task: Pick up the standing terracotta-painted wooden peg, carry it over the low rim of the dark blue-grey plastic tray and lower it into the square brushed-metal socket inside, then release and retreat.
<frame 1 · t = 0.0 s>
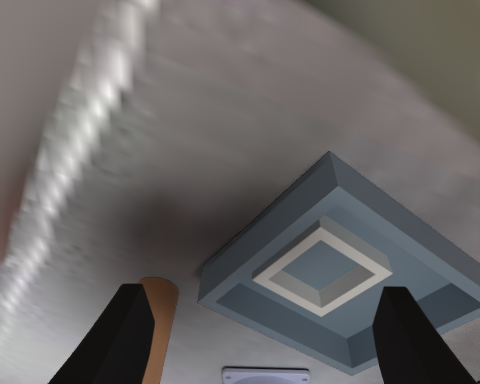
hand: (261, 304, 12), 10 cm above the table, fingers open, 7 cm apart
tray box: (338, 265, 25), on the table
peg: (157, 290, 28), on the table
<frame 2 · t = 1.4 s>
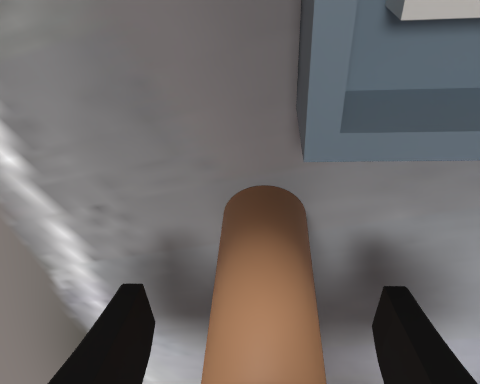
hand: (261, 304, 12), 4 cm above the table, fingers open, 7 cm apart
peg: (264, 218, 15), on the table
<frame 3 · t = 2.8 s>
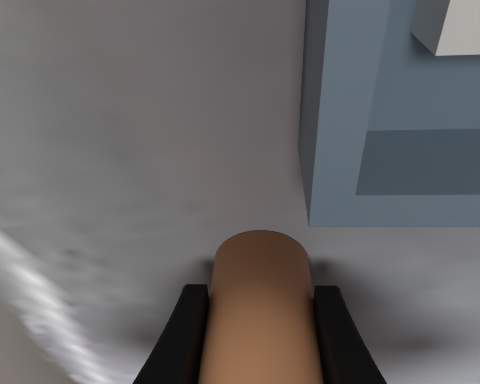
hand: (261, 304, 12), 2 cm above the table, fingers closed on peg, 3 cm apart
peg: (261, 264, 13), on the table, touching gripper
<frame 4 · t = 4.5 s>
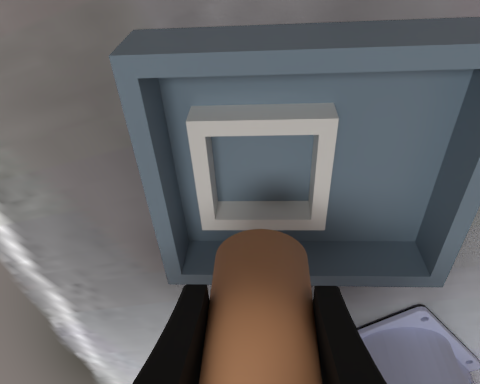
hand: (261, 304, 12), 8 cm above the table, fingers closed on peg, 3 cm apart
tray box: (304, 155, 18), on the table
peg: (261, 261, 13), point 7 cm above the table, touching gripper
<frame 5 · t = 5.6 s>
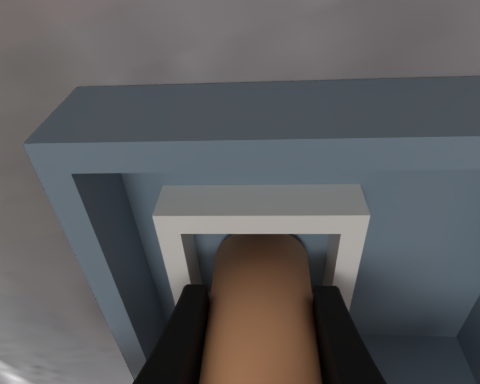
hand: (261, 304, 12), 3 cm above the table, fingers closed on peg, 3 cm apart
tray box: (316, 240, 14), on the table
peg: (261, 261, 13), point 1 cm above the table, touching gripper
when the fingers open (3 cm above the table, at t = 6.1 s): peg stays where it is, resting on tray box.
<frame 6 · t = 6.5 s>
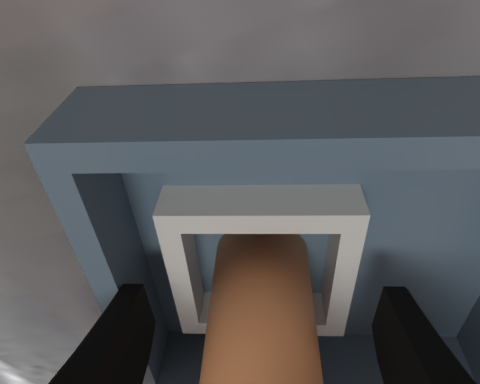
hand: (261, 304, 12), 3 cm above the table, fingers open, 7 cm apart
tray box: (316, 240, 14), on the table
peg: (261, 253, 13), point 1 cm above the table, touching tray box
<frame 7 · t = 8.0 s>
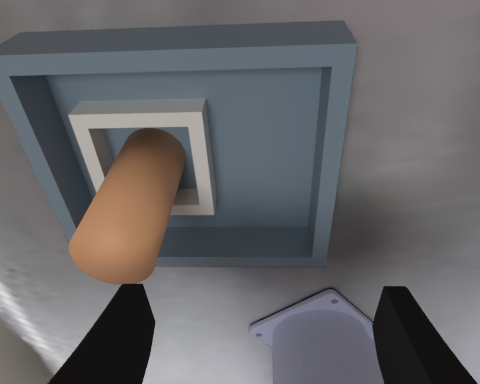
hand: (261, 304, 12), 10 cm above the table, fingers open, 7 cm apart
tray box: (194, 147, 20), on the table
peg: (154, 155, 20), point 1 cm above the table, touching tray box
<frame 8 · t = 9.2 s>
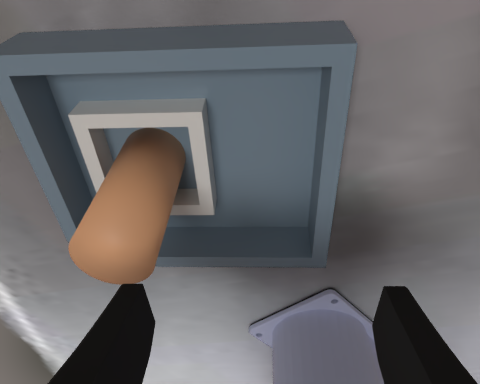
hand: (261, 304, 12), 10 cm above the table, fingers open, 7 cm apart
tray box: (194, 147, 20), on the table
peg: (154, 155, 20), point 1 cm above the table, touching tray box
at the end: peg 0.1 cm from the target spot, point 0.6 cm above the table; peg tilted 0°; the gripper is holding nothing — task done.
